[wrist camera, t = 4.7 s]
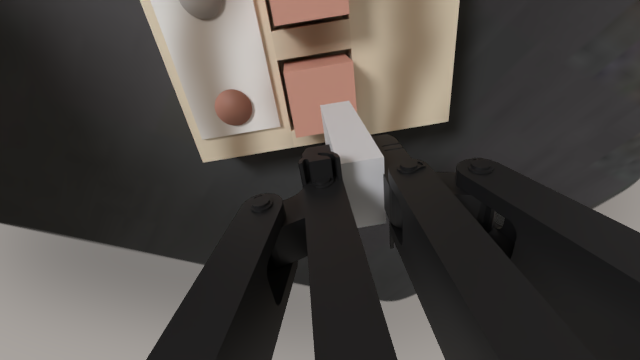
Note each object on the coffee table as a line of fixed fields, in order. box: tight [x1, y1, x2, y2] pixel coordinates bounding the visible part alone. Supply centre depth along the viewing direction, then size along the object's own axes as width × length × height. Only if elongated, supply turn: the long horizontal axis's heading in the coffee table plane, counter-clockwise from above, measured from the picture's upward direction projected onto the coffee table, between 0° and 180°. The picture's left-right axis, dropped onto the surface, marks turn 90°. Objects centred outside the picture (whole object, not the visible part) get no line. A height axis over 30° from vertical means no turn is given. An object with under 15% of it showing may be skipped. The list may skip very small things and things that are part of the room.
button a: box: [283, 53, 357, 138], centre depth 21 cm, size 4×4×4 cm
